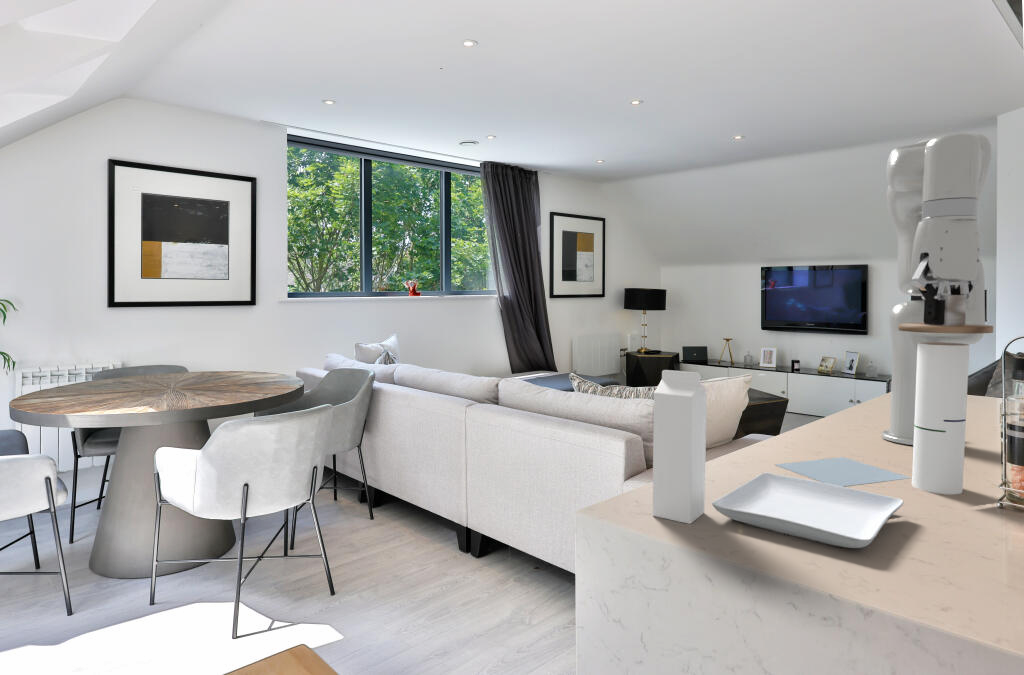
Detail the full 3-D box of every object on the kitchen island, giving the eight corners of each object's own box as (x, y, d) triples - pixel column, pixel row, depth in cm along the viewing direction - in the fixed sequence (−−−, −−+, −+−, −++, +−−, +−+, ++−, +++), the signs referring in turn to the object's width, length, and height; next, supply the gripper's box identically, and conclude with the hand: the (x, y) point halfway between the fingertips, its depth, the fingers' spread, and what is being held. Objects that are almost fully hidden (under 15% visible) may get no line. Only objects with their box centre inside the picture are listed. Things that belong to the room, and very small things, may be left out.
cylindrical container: (970, 498, 103) (978, 345, 101) (922, 495, 104) (928, 345, 102) (949, 485, 110) (956, 342, 108) (904, 482, 111) (910, 341, 109)
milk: (667, 505, 100) (669, 367, 99) (705, 513, 96) (707, 370, 95) (651, 516, 95) (653, 371, 94) (690, 524, 92) (692, 374, 90)
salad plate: (869, 565, 79) (870, 538, 78) (708, 524, 93) (708, 501, 93) (905, 519, 94) (906, 497, 94) (762, 490, 109) (763, 470, 108)
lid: (935, 328, 113) (937, 294, 113) (1013, 332, 101) (1014, 294, 100) (880, 329, 109) (881, 295, 109) (953, 334, 97) (955, 295, 96)
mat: (843, 459, 127) (843, 457, 127) (911, 480, 113) (911, 477, 112) (774, 467, 121) (774, 464, 121) (836, 490, 107) (836, 487, 107)
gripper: (963, 217, 110) (958, 322, 111) (890, 213, 105) (886, 323, 106) (1008, 211, 103) (1003, 324, 104) (932, 207, 97) (927, 325, 99)
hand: (944, 322), depth 105 cm, fingers closed on lid, 4 cm apart
